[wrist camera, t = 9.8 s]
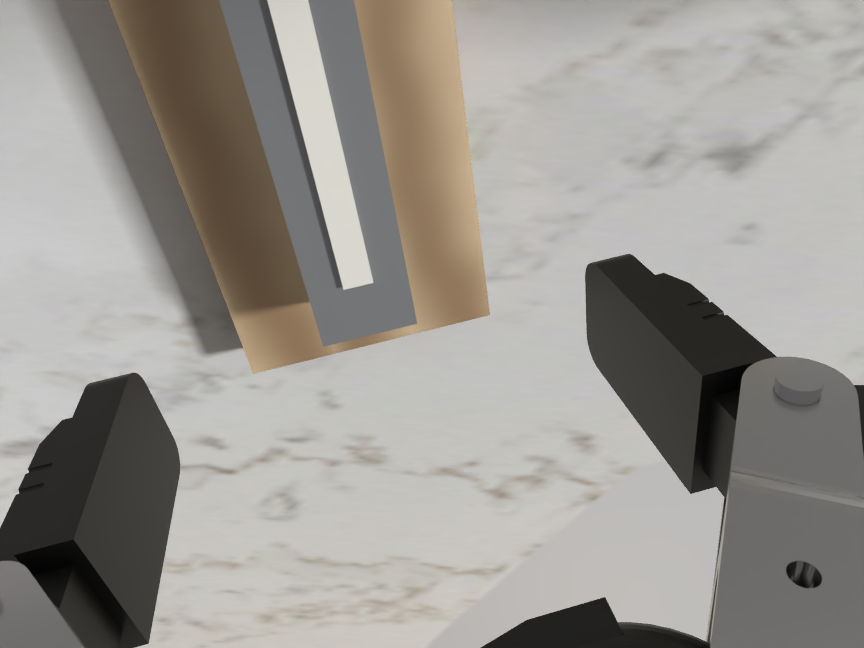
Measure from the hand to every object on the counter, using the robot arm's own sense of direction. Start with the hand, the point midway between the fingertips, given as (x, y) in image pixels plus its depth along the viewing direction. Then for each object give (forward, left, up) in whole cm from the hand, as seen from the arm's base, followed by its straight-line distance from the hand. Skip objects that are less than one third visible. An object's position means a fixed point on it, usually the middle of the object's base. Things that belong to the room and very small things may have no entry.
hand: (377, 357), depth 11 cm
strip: (0, 0, -19) cm, 19 cm away
